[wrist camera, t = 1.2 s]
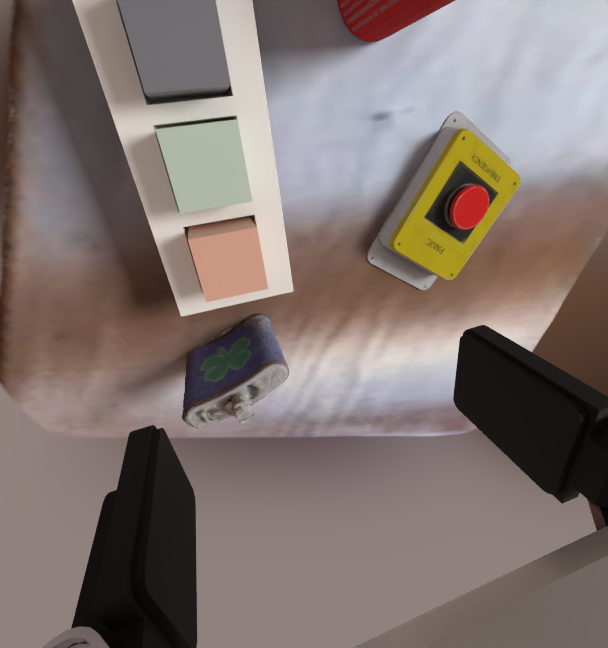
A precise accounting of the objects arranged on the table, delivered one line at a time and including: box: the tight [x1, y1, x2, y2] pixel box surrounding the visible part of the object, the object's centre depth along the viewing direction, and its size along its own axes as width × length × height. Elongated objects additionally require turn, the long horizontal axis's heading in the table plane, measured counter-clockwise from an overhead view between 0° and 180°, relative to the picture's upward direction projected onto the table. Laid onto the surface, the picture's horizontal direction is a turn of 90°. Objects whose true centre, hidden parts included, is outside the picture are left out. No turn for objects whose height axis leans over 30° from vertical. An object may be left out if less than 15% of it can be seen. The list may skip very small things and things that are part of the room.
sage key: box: [155, 119, 252, 214], centre depth 21 cm, size 4×4×4 cm
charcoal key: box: [118, 0, 231, 101], centre depth 18 cm, size 4×4×4 cm
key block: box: [72, 0, 293, 317], centre depth 23 cm, size 20×9×5 cm, turn 7°
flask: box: [182, 314, 289, 428], centre depth 29 cm, size 9×3×11 cm, turn 115°
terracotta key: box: [188, 216, 268, 302], centre depth 24 cm, size 4×4×4 cm
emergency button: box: [367, 112, 520, 290], centre depth 32 cm, size 9×4×15 cm
